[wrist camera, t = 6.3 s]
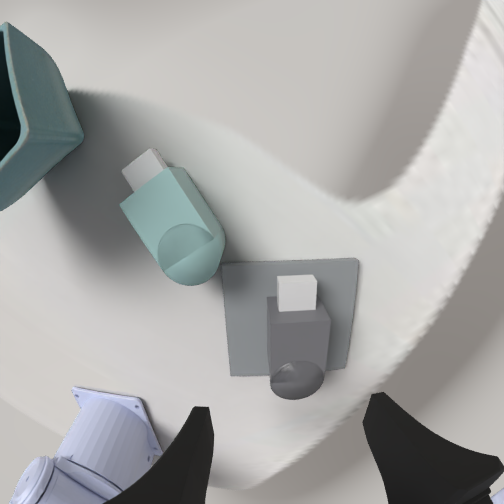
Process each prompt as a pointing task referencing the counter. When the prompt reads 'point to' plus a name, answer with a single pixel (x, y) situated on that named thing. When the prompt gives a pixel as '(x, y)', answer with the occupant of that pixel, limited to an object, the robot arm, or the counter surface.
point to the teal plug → (173, 219)
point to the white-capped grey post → (296, 337)
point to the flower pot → (31, 115)
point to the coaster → (265, 285)
